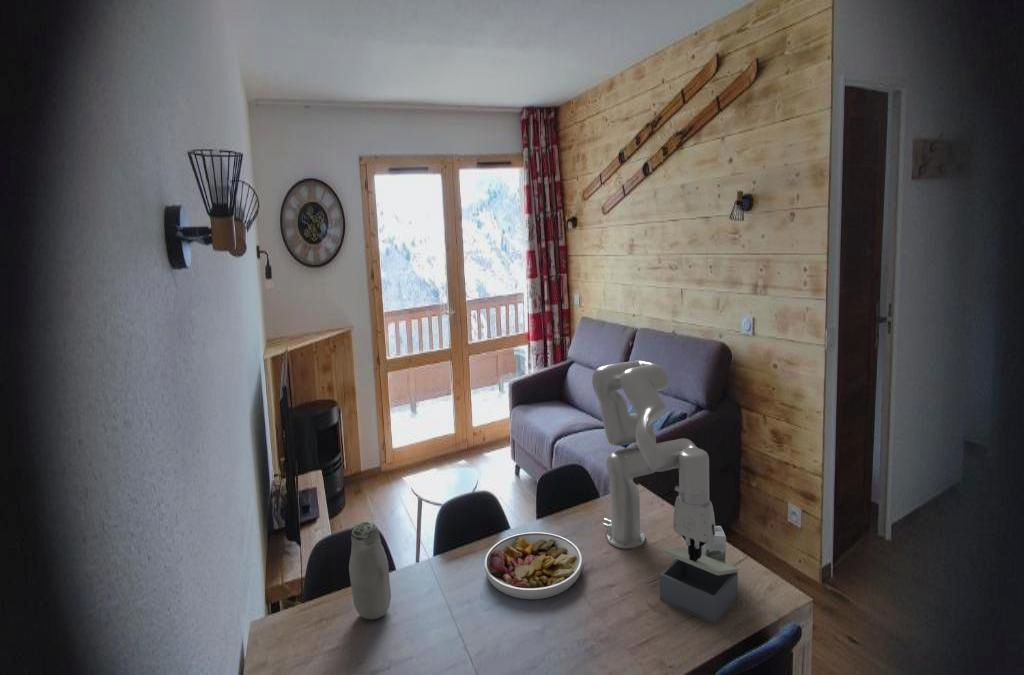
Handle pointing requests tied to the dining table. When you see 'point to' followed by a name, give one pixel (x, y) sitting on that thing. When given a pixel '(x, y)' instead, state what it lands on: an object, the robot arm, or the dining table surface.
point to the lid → (701, 561)
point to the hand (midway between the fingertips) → (694, 558)
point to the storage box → (698, 590)
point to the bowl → (533, 565)
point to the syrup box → (716, 546)
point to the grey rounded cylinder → (369, 572)
